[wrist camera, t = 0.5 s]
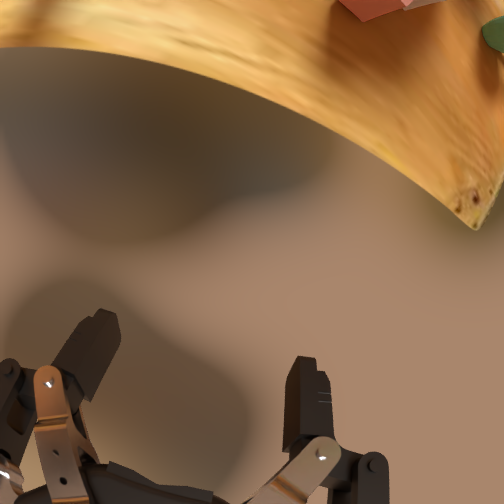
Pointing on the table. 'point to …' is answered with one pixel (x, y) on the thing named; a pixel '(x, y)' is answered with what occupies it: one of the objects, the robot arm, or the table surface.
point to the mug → (494, 33)
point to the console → (420, 3)
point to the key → (373, 7)
